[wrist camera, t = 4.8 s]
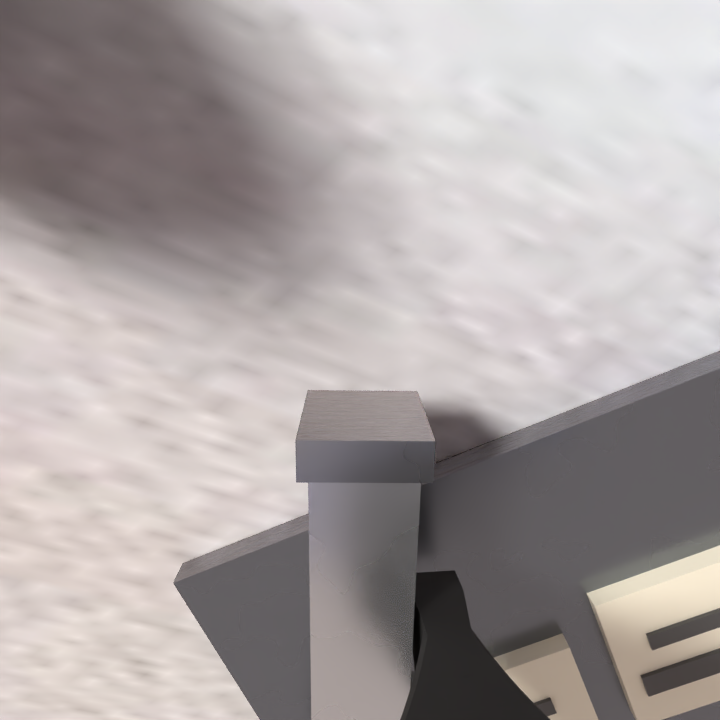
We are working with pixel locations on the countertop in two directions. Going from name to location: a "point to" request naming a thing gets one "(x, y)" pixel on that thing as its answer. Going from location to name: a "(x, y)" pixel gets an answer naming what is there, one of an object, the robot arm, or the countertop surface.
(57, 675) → the countertop surface
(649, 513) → the dark gray base board
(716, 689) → the label plate
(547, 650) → the label plate
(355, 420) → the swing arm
